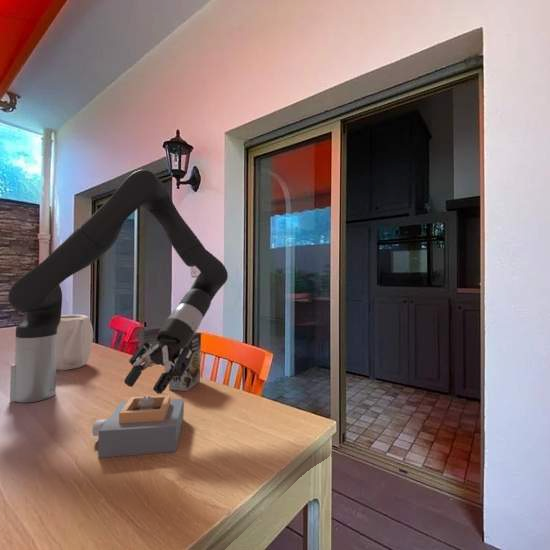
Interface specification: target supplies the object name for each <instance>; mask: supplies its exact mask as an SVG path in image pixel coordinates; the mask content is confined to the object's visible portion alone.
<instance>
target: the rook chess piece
mask: <svg viewBox="0 0 550 550" xmlns="http://www.w3.org/2000/svg"><path fill="white" fill-rule="evenodd" d="M146 396H148V398H146ZM146 396H145V397H143V398H140V402H139V403H138V405H139V406H140V410H151V409H153V408H152V405H153V404H154V402H155V401H154V400H153V397H151V398H150V396H151V395H146Z"/></svg>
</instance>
